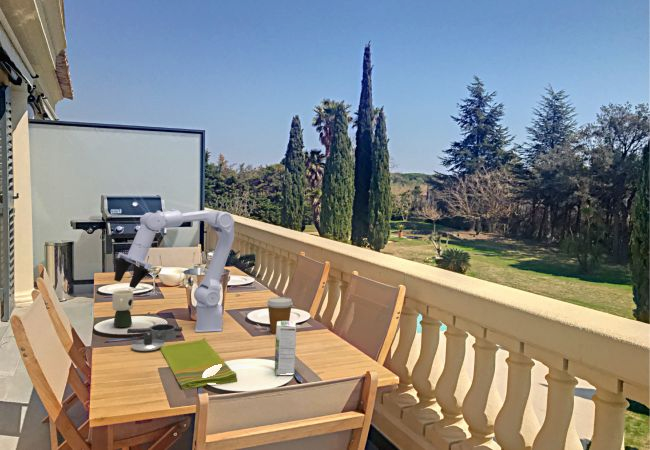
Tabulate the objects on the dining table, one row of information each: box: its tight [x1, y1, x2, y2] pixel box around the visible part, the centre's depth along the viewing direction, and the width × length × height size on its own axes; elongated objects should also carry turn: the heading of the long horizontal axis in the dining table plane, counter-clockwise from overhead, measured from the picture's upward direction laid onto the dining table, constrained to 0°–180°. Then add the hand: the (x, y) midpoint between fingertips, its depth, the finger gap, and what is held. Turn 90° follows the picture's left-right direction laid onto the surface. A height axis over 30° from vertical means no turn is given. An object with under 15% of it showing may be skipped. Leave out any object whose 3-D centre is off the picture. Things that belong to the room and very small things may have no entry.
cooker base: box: [126, 323, 183, 342], centre depth 178 cm, size 18×9×4 cm, turn 104°
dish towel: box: [159, 337, 238, 390], centre depth 153 cm, size 15×36×3 cm, turn 27°
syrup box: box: [274, 320, 297, 377], centre depth 149 cm, size 6×6×14 cm
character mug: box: [112, 289, 134, 329], centre depth 190 cm, size 11×7×13 cm, turn 13°
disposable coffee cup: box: [266, 296, 293, 335], centre depth 189 cm, size 10×10×12 cm
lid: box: [131, 331, 165, 352], centre depth 167 cm, size 10×10×5 cm
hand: (124, 284), depth 171 cm, fingers open, 7 cm apart
